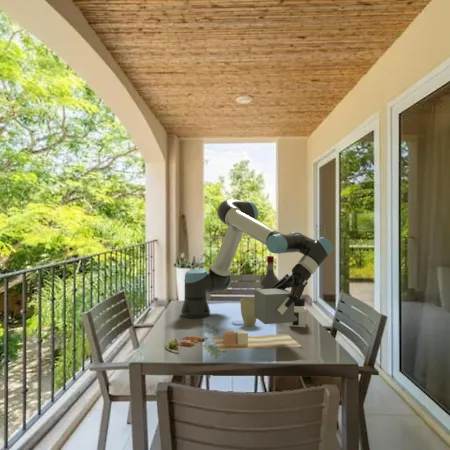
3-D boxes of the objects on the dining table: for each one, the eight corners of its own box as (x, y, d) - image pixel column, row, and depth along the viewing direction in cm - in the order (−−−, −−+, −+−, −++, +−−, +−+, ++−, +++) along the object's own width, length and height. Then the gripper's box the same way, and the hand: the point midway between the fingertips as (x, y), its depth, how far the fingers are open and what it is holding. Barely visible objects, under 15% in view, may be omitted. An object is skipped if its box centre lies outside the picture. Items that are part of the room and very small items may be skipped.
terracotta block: (223, 341, 149) (223, 331, 148) (233, 341, 149) (233, 331, 149) (225, 344, 145) (225, 334, 145) (235, 344, 145) (235, 333, 145)
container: (305, 327, 176) (306, 299, 176) (288, 326, 178) (289, 298, 178) (305, 323, 184) (305, 296, 184) (289, 322, 185) (289, 295, 185)
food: (218, 352, 142) (218, 344, 142) (172, 358, 136) (172, 350, 136) (203, 337, 159) (203, 330, 159) (162, 342, 153) (162, 335, 153)
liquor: (259, 311, 208) (260, 256, 208) (263, 307, 216) (264, 255, 216) (276, 312, 204) (276, 257, 204) (279, 309, 213) (280, 256, 213)
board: (212, 341, 154) (212, 337, 154) (287, 337, 160) (287, 334, 160) (219, 354, 138) (219, 350, 138) (301, 350, 144) (301, 346, 144)
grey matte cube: (254, 316, 154) (254, 289, 154) (281, 315, 157) (281, 288, 157) (264, 324, 142) (265, 294, 142) (294, 322, 145) (294, 293, 145)
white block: (235, 341, 149) (235, 330, 149) (244, 340, 150) (244, 330, 150) (237, 344, 146) (238, 333, 145) (247, 343, 147) (248, 333, 147)
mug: (264, 324, 180) (264, 299, 180) (250, 328, 173) (251, 302, 173) (246, 320, 188) (246, 296, 188) (233, 324, 180) (233, 298, 180)
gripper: (328, 279, 144) (293, 322, 138) (294, 271, 167) (263, 308, 162) (316, 266, 142) (280, 309, 137) (283, 260, 165) (251, 296, 160)
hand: (271, 308), depth 149 cm, fingers closed on grey matte cube, 13 cm apart
